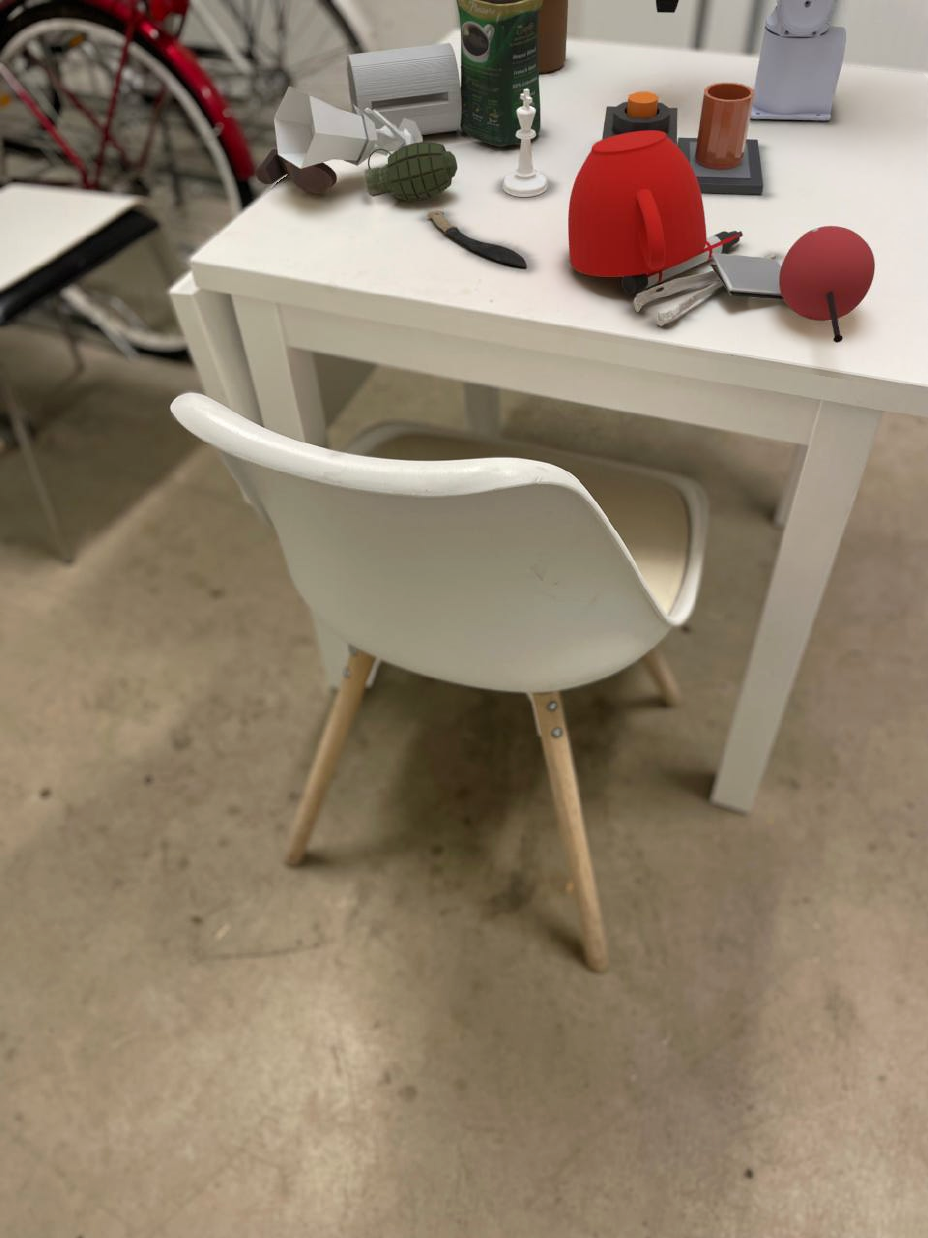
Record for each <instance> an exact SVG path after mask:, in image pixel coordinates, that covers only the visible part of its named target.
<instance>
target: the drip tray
mask: <svg viewBox="0 0 928 1238" xmlns="http://www.w3.org/2000/svg"><path fill="white" fill-rule="evenodd" d="M696 142H697V137H677V147H678V148H679V149H680V150H681V151H682V152H683V154H684V155H685V157H686V158H687V160H688V161H689V163H690V165H691V167H692V169H693V171H694V173H695V175H696V178H697V181H698V184H699V187H700V191H701V194H702V193H703V194H729V195H730V194H731V195H732V194H734V195H762V194H763V189H764V180H763V172H762V164H761V154H760V147H759V140H758V139H756V138H755V139H753V138H752V139H751V138H747V139H746V144H745V150H744V155H743V159H742V162H741V164H740V165H738V166H737V167H734V168H731V169H710V168H706V167H703V166H701V165H699V164H697V163H696V162H695V159H694V158H695V149H696Z"/></svg>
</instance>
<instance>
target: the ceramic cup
mask: <svg viewBox="0 0 928 1238" xmlns="http://www.w3.org/2000/svg"><path fill="white" fill-rule="evenodd" d="M568 203H569V204H568V215H567V216H568V217H567V219H568V220H567V230H568V231H567V233H568V234H567V235H568V236H567V238H568V252H569V259H570V260H569V261H570V265H571V267H572V268H573V269H574V270H575V271H577V272H579V273H580V274H584V275H587V276H592V277H602V278H606V277H607V278H619V277H623V276H632V275H640V274H646V273H651V272H656V271H660V270H664V269H667V268H670V267H673V266H676V265H679V264H681V263H684V262H686V261H688V260H690V259H692V258H694V257H695V256H697V255H698V254H699V253H701V252H702V251H703V249H704V248H705V246H706V238H707V225H706V216H705V215H706V214H705V208H704V202H703V196H702V193H701V191H700V187H699V184H698V181H697V178H696V175H695V173H694V171H693V169H692V167H691V165H690V163H689V161H688V160H687V158H686V157H685V155H684V154H683V152H682V151H681V150H680V149H679V148H678V147H677V146H676V145H675V143H673V142H672V141H671V140H670V139H669V138H668V137H667V135H666V133H665V132H662V131H656V130H647V131H636V132H629V133H624V134H620V135H615V136H612V137H609V138H606V139H603V140H602V139H600V140H598V141H597V142H595V143H594V144H593V145H592V146H591V150H590V152H589V153H588V155H587V156H586V158H585V159H584V162H583V163H582V165H581V167H580V169H579V170H578V172H577V175H576V177H575V179H574V182H573V185H572V189H571V192H570V197H569V202H568Z"/></svg>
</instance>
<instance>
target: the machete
mask: <svg viewBox="0 0 928 1238" xmlns="http://www.w3.org/2000/svg"><path fill="white" fill-rule="evenodd" d="M444 214H445V212H444V211H442V210H434V211H431V212H429V213H427V217H428V218H429V219H431V220H432V221H433V223H434V224H435V226H437V227H438V228H439V229H440V230H442V231H443V233H444V234H446V235H448V236H449V237H451V238H452V239H454V240H455V241H457V242H458V243H460V244H461V245H463V246H464V247H466V248H468V249H470V250H472V251H474V252H476V253H478V254H480V255H481V256H484V257H486V258H488V259H492V260H494V261H496V262H498V263H502V264H505V265H509V266H513V267H516V268H517V267H518V268H523V269H524V268H527V262H526V260H525V259H524V258H523V256H522V255H520V254H519V253H517V252H516V251H515V250H513V249H511V248H508V247H506V246H503V245H500V244H495V243H490V242H485V241H481V240H477V239H474V238H472V237H470V236H467V235H465V234H464V233H462V232H461V231H460V229H459V227H457V226H455V225H452V224H451V223H450V221H448V219H447V218H446V217H445V216H443V215H444Z"/></svg>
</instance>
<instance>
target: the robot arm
mask: <svg viewBox="0 0 928 1238" xmlns="http://www.w3.org/2000/svg"><path fill="white" fill-rule="evenodd" d="M679 1H680V0H655V6H656V7H655V9H656V12H657V13H660V14H661V13H665V14H666V13H667V14H674V13H675V12H676V10H677V7H678V5H679ZM837 4H838V0H776V6H775V7H774V9H773V10H772V12H771V14H769V15H768V17H767V18H766V19H765V24H764V30H763V35H762V41H761V47H760V53H759V57H758V64H757V68H756V74H755V80H754V86H753V90H754V100H753V105H752V111H751V116H750V119H752V120H753V119H754V120H793V121H795V120H797V121H798V120H799V121H800V120H802V121H829V120H831V112H832V108H833V105H834V100H835V95H836V91H837V87H838V83H839V79H840V74H841V70H842V66H843V61H844V57H845V51H846V45H847V44H846V43H847V31H846V28H845V27H844V26H834V25H831V21H830V19H831V18H832V16H833V14H834V12H835V9H836V7H837Z"/></svg>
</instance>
